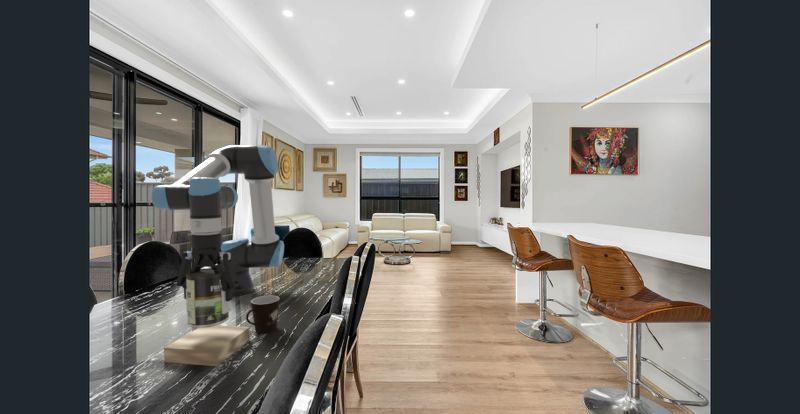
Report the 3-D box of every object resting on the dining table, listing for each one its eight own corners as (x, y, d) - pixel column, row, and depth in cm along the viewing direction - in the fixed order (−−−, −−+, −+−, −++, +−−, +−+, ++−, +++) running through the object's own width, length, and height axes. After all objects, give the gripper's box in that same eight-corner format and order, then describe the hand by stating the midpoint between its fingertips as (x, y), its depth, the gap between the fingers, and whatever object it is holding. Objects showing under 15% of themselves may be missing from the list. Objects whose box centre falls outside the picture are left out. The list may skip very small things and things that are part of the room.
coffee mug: (273, 322, 114) (272, 293, 114) (284, 329, 108) (284, 299, 108) (237, 332, 106) (237, 301, 106) (247, 341, 100) (247, 308, 100)
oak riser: (204, 337, 103) (204, 324, 103) (249, 339, 101) (249, 327, 101) (164, 362, 88) (163, 347, 88) (216, 366, 86) (216, 351, 86)
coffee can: (237, 315, 98) (236, 268, 97) (210, 329, 88) (209, 277, 87) (207, 312, 100) (205, 266, 99) (177, 326, 90) (176, 275, 89)
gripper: (158, 234, 90) (161, 314, 91) (235, 235, 87) (237, 318, 89) (180, 230, 98) (182, 304, 99) (251, 232, 95) (253, 308, 96)
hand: (208, 311), depth 94 cm, fingers closed on coffee can, 10 cm apart
